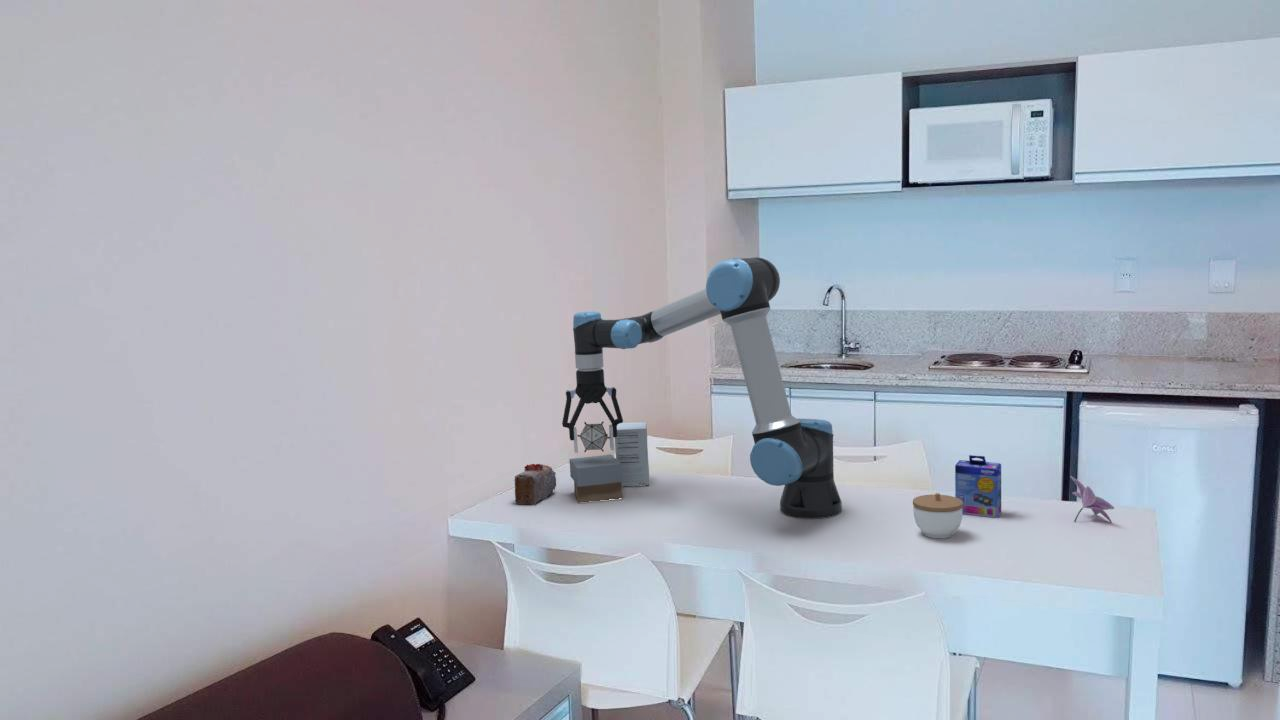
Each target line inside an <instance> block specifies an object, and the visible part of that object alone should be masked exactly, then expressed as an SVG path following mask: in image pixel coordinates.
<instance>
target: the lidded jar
mask: <svg viewBox="0 0 1280 720" xmlns="http://www.w3.org/2000/svg"><path fill="white" fill-rule="evenodd" d="M912 506H913V517H914V521H915V524H916V526H917V528H919V530H920V531H921V532H923V535H924V536H926V537H928V538H931V539H948V538H951V537H953V534H954V533H956V532H957V531H958V529H959V528H960V527H961V524H962V520H963V514H962V511H963V501H962V500H961V499H959V498H956V497H955V496H952V495H948V494H947V495H945V494H940V493H939V492H936V493H935V494H923V495H919V496H916V497H914V498H913V499H912Z"/></svg>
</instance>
